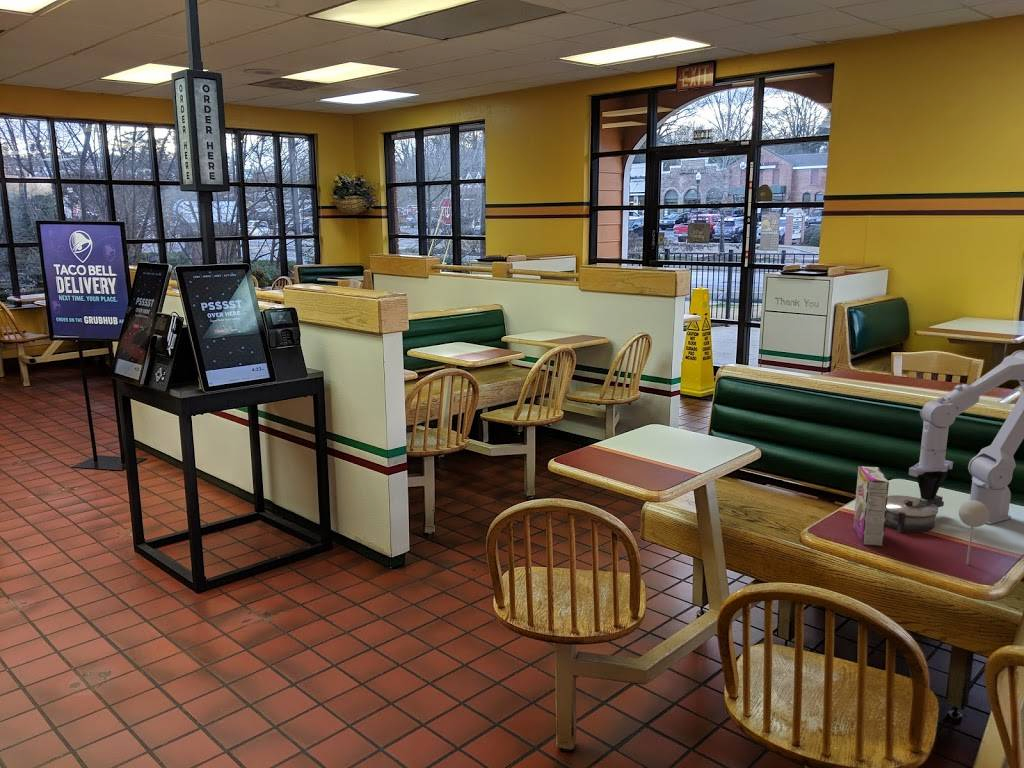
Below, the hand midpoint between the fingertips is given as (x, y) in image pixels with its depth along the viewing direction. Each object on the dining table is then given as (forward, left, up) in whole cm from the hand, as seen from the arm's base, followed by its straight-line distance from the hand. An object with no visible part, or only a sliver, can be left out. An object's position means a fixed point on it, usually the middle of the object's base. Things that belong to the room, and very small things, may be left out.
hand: (927, 498), depth 207 cm
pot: (+5, 0, -5) cm, 7 cm away
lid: (+5, 0, -1) cm, 5 cm away
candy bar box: (+24, +2, -5) cm, 25 cm away
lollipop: (+17, +23, -5) cm, 29 cm away
